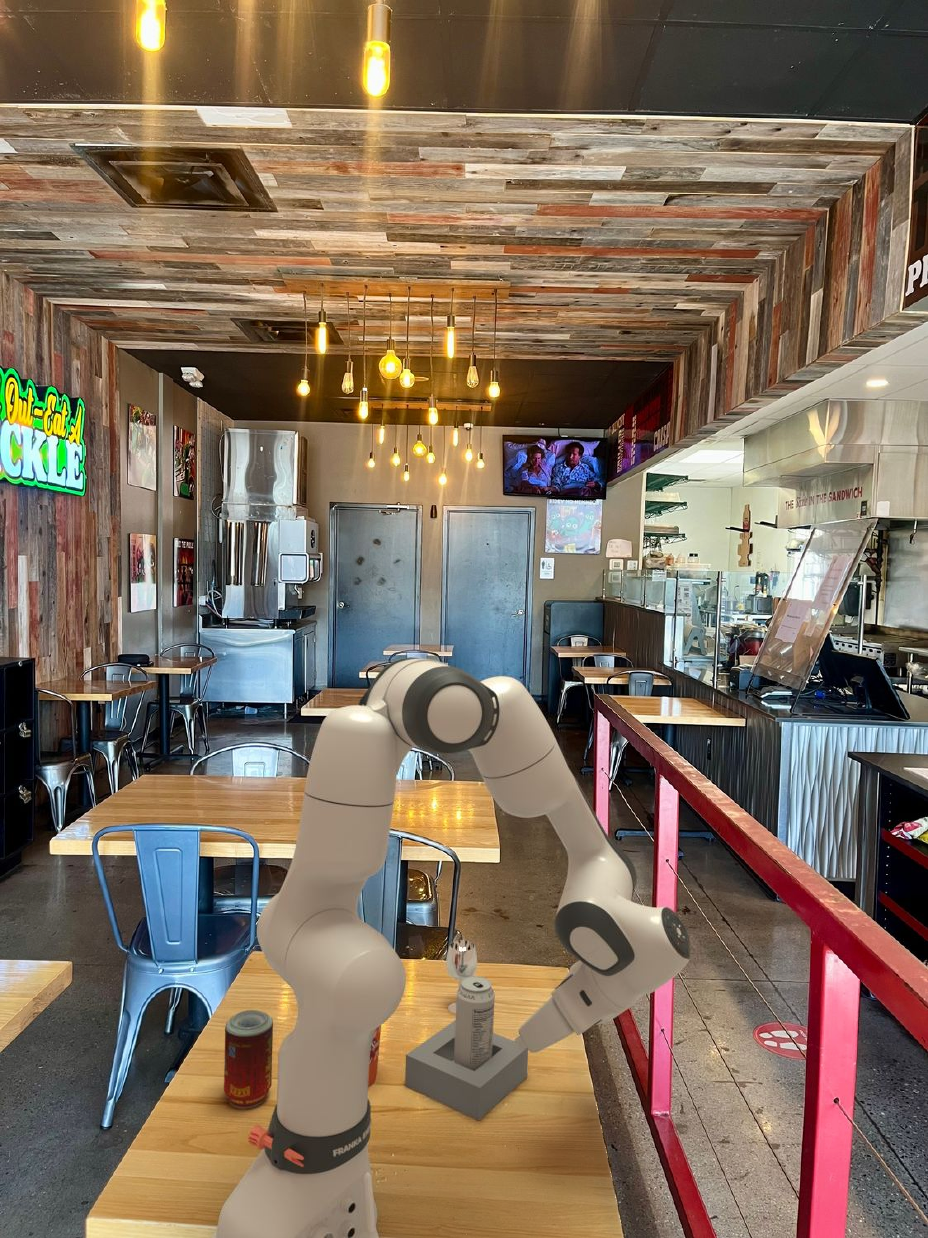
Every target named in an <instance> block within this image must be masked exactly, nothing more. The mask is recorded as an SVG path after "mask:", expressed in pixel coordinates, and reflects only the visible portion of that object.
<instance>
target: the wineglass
mask: <svg viewBox="0 0 928 1238" xmlns="http://www.w3.org/2000/svg"><path fill="white" fill-rule="evenodd" d="M445 967H446V968H445V969H446V972H447V974H448V975H449V976H450V978H452V979H454V980H456V981H458V983H457V987H458V988H459V987H460V986H461V981H462V980H463V979H464V978H466V977H470V976H475V974H476V971H477V968H478V957H477V951H476V945H475V943H473V942H471V941H469V940H463V939H458V940H454V941H451V942H450V944H449V946H448V949H447V954H446V960H445ZM447 1010H448V1011H449V1012H450V1013H451V1014H453V1015H456V1002H455V1001H454V1002H452V1003H450V1004H449V1005H448V1007H447Z"/></svg>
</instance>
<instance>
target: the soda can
mask: <svg viewBox="0 0 928 1238" xmlns="http://www.w3.org/2000/svg"><path fill="white" fill-rule="evenodd" d="M224 1027H225V1028H224V1072H223V1073H224V1075H223V1090H224V1094H225V1095H226V1097H227V1099H228V1100H227V1101H228V1103H229V1104H230V1105H231V1106H232V1107H235V1108H237V1109H251V1108H255V1107H257V1106H260V1105H261V1104H262V1103H264V1102H265V1100H266V1099H267V1095H268V1093H269V1091H270V1088H272V1084H273V1082H272V1080H273V1079H272V1078H273V1077H272V1076H273V1075H272V1074H273V1070H272V1069H273V1044H274V1043H273V1041H274V1040H273V1037H274V1035H273V1034H274V1033H273V1032H274V1022H273V1018H272V1017H271V1015H270V1014H268V1013H266V1012H264V1011H261V1010H258V1009H246V1010H242V1011H240V1012H238V1013H236V1014H235V1015H233V1016H231V1017H230V1018H229V1019H228V1020H227V1021H226V1023H225V1026H224Z"/></svg>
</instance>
